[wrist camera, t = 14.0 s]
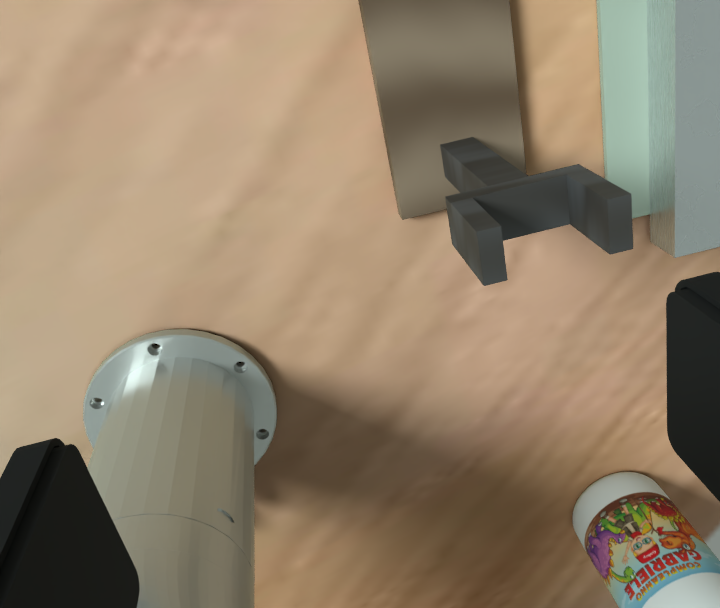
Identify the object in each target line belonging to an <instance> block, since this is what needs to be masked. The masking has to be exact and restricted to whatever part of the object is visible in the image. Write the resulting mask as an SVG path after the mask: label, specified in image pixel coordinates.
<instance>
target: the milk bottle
mask: <svg viewBox="0 0 720 608" xmlns="http://www.w3.org/2000/svg"><path fill="white" fill-rule="evenodd" d="M573 527H574V530H575V532H576V534H577V536H578V538H579V540H580V542H581V543H582V545H583V547H584V549H585V550H586V552H587V554H588V556H589V557H590V559H591V561H592V562H593V564H594V566H595V568H596V569H597V571H598V573H599V574H600V576H601V578H602V579H603V581H604V583H605V585H606V586H607V588H608V590H609V591H610V593H611V595H612V596H613V598H614V600H615V601H616V603H617V605H618V606H619V608H720V561H719V560H718V559H717V557H716V556H715V555H714V554H713V552H712V551H711V550H710V548H709V547H708V546H707V545H706V543H705V542H704V541H703V540H702V538H701V537H700V536H699V535H698V533H697V532H696V531H695V530H694V528H693V527H692V526H691V525H690V523H689V522H688V521H687V520H686V518H685V517H684V516H683V515H682V513H681V512H680V511H679V510H678V508H677V507H676V506H675V505H674V504H673V502H672V501H671V500H670V499H669V497H668V496H667V495H666V494H665V492H664V491H663V490H662V489H661V488H660V487H659V485H658V484H657V483H656V482H655V481H654V480H652V479H651V478H649V477H647V476H645V475H642V474H639V473H636V472H618V473H614V474H610V475H608V476H605V477H603V478H601V479H599V480H597V481H595V482H594V483H593V484H591V485H590V486H589V487H588V488H587V489H586V490H585V491H584V492H583V493H582V494H581V495H580V497H579V498H578V500H577V502H576V504H575V506H574V511H573Z"/></svg>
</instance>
